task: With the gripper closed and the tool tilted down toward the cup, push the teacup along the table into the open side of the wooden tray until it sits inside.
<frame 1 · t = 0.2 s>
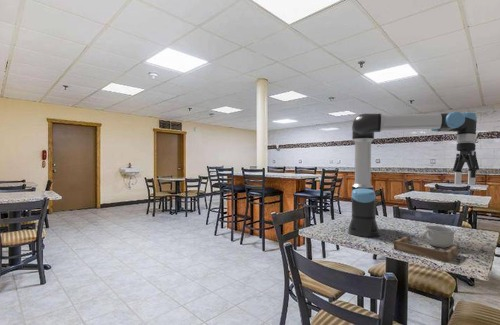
hand: (464, 184, 135), 27 cm above the table, tool pointing down, fingers open, 13 cm apart
wooden tray: (426, 251, 113), on the table
teacup: (436, 246, 121), on the table
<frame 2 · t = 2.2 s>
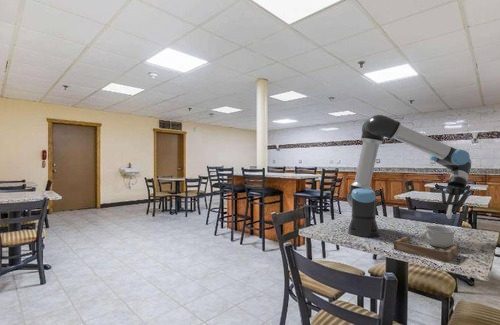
hand: (448, 216, 129), 11 cm above the table, tool tilted 45°, fingers closed
nothing on the table moved.
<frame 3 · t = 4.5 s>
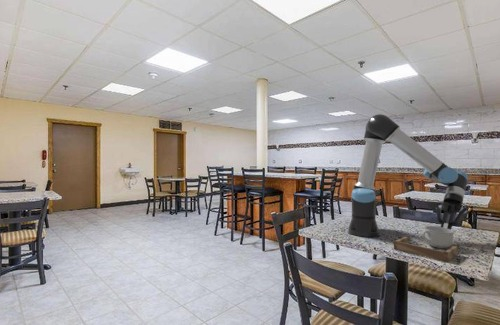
hand: (443, 236, 124), 3 cm above the table, tool tilted 45°, fingers closed
teacup: (435, 246, 120), on the table, touching gripper
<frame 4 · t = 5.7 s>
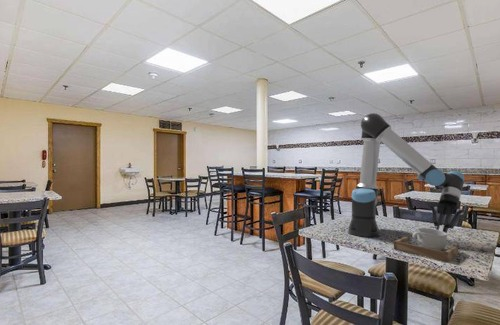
hand: (439, 239, 119), 3 cm above the table, tool tilted 45°, fingers closed
teacup: (428, 249, 116), on the table, touching gripper
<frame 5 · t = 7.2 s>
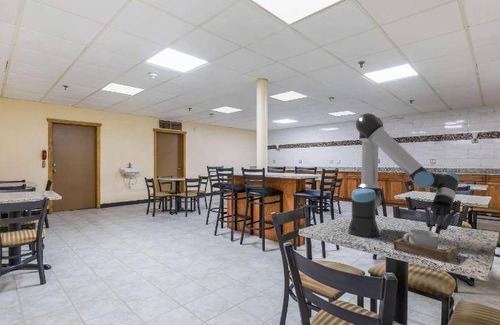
hand: (431, 240, 117), 4 cm above the table, tool tilted 45°, fingers closed
teacup: (419, 251, 114), on the table, touching gripper
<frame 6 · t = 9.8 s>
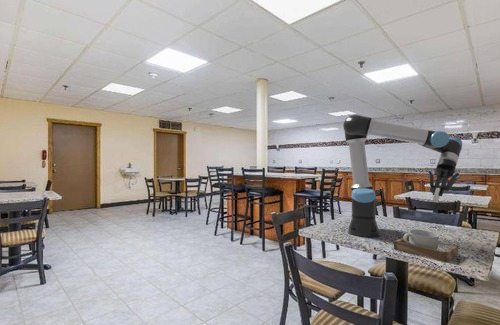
hand: (435, 200, 125), 20 cm above the table, tool tilted 40°, fingers closed
teacup: (419, 251, 114), on the table
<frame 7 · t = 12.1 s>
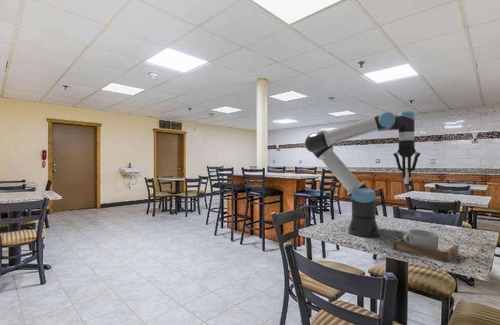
hand: (406, 183, 145), 26 cm above the table, tool pointing down, fingers closed
nothing on the table moved.
at the end: teacup 2.5 cm from the wooden tray (horizontally); teacup tilted 0°; teacup moved 13.6 cm from its start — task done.
